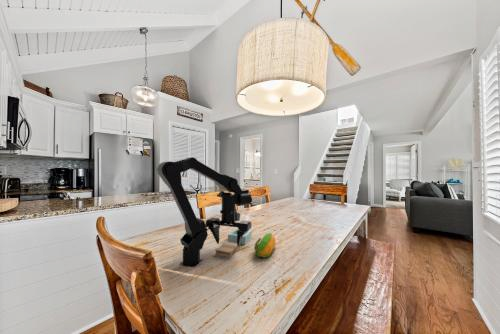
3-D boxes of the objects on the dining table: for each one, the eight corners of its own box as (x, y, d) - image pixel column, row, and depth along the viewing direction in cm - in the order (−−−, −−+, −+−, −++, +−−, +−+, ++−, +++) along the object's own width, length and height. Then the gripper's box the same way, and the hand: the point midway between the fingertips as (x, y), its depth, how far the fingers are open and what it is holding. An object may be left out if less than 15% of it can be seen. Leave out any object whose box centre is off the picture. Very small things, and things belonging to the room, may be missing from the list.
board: (230, 257, 80) (230, 252, 80) (215, 255, 82) (215, 250, 82) (239, 248, 89) (239, 243, 89) (226, 246, 91) (226, 241, 91)
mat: (232, 260, 78) (232, 259, 78) (211, 257, 81) (211, 256, 81) (243, 249, 90) (243, 247, 90) (224, 246, 93) (224, 245, 93)
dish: (245, 246, 93) (245, 236, 93) (227, 244, 96) (227, 234, 96) (251, 239, 102) (251, 230, 102) (235, 237, 105) (235, 228, 105)
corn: (251, 240, 79) (264, 226, 98) (250, 260, 79) (263, 242, 98) (270, 244, 77) (280, 229, 95) (268, 264, 77) (279, 245, 96)
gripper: (255, 205, 90) (255, 241, 90) (217, 202, 96) (216, 236, 96) (247, 210, 80) (246, 250, 80) (204, 207, 85) (204, 244, 85)
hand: (228, 244), depth 85 cm, fingers open, 9 cm apart
